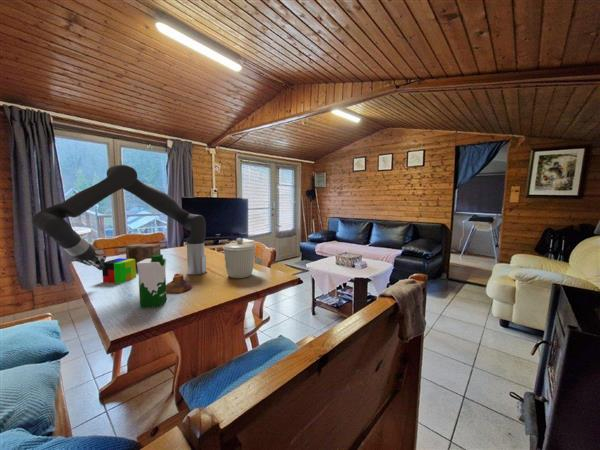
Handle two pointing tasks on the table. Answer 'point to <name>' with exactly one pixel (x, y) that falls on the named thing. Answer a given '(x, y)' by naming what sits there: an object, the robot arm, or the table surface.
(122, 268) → the puzzle toy
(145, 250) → the brown wooden box
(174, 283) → the bell
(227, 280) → the table surface
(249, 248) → the canister
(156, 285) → the milk carton
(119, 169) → the robot arm
